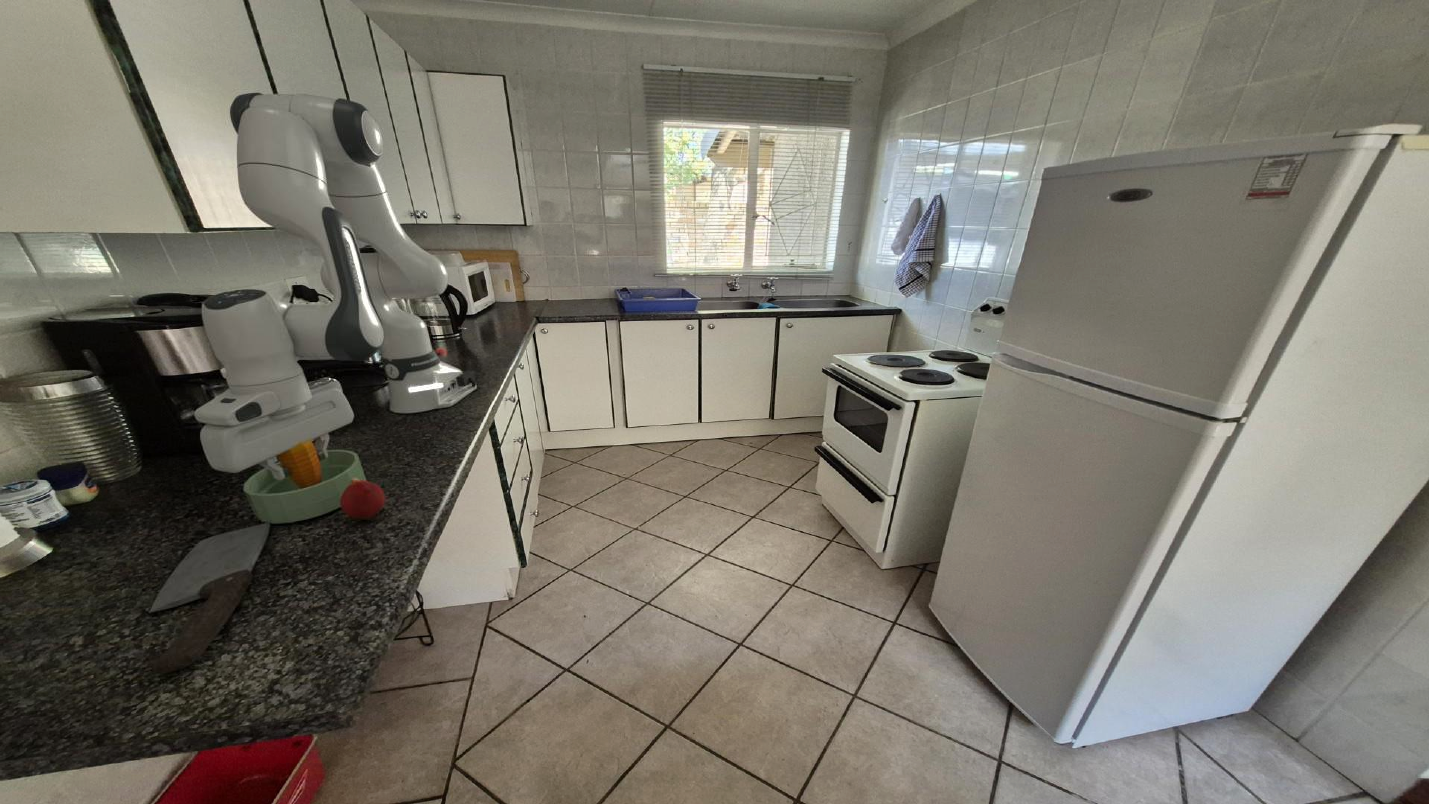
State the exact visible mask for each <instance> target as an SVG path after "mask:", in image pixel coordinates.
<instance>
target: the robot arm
mask: <svg viewBox="0 0 1429 804" xmlns="http://www.w3.org/2000/svg"><path fill="white" fill-rule="evenodd" d="M229 117H230V122H231V124H232V127H233V129H234V131H235V133H236V135H237V140H236V141H237V142H236V168H237V169H236V170H237V182H238V189H239V193H240V196H241V199H242V201H243V203H244V205H245V206H246V207H247V209H248V210H249V211H250V212H251V213H252V214H253V215H254V216H255V217H257V218H258V219H259V220H260V221H262V222H263V223H265V224H267V225H269V226H271V227H272V228H274V229H277V230H279V231H282V232H284V233H287V234H289V235H291V236H295V237H298V238H301V239H303V240H307V241H309V242H311V243H312V244H313V245H315V246H316V248H318V250H319V252H320V253H321V255H322V258H323V262H322V265H321V266H320V272H319V273H320V274H319V275H320V280H321V282H322V285H323V287H324V288H325V289H326V291H328V293H330V294H331V295H332V296H333V299H332V301H331V302H330V303H312V304H311V303H309V304H307V303H306V304H305V303H292V302H287V301H283V300H279V299H276V298H273V297H272V296H271V295H270V294H269V293H268V292H267V291H265V290H262V289H258V288H257V289H255V288H244V289H243V288H242V289H235V290H230V291H222V292H219V293H216V294H214V295H211V296H209V297H207V298H206V299H204V301H203V302H202V303H201V318H202V319H201V320H202V323H203V327H204V331H205V333H206V336H207V339H208V342H209V345H210V347H211V349H212V351H213V354H214V355H215V358H216V359H217V360H218V361H219V362H220V363H221V365H222V366H223V368H224V367H225V370H226V378H225V379H226V380H225V381H226V383H227V386H228V389H226V390H225V391H223V392H222V393H220V394H219V395H218V396H216V397H214V398H213V399H211V400H210V401H208V402H206V403H205V404H203V405H201V406H200V407H198V408H196V410H195V411H194V412H193V413H194V414H193V416H194V418H195V419H196V421H197V422H199V423H201V424H204V426H203V427H202V428H201V429H200V433H199V436H200V437H199V438H200V443H201V446H202V449H203V452H204V455H205V457H206V460H207V462H208V464H209V466H210V467H211V468H212V469H214V470H216V471H219V472H224V473H228V474H229V473H230V474H237V473H240V472H243V471H245V470H247V469H249V468H252V467H253V466H257V465H260V466H261V467H263V468H267V469H269V470H271V472H272V474H273V477H274V478H275V479H278V480H282V479H285V478H286V477H288V476H290V475H291V472H289V471H290V469H289V467H287V466H284V467H283V466H278V465H276V464H275V463H278V462H279V459H278V457H277V455H279V454H281V453H283V452H286V451H288V450H290V449H292V448H294V447H295V446H296V445H298V444H299V443H302V442H306V441H311V440H314V441H315V443H314V447H315V450H316V452H317V455H318V458H319V461H321V460H323V459H325V458H327V457H328V453H327V450H328V446H329V442H330V435H329V433H331V432H333V431H336V430H338V429H340V428H342V427H345V426H347V425H349V424H351V423H353V420H354V418H355V414H354V411H353V409H352V407H351V405H350V403H349V401H348V399H347V397H346V396H345V394H344V393H343V388H342V385H341V383H340V381H339V380H337V379H335V378H331V377H328V376H326V377H322V378H319V379H317V380H313V381H309V382H308V381H307V378H306V376H305V372H304V370H303V368H302V366H301V365H300V364H299V363H298V361H300V360H301V361H303V360H304V361H332V360H335V361H336V360H337V361H345V362H346V361H347V362H365V361H368V360H369V359H371V358H373V356H374V355H376V354H377V353H378V352H379V351H380V354H381V356H380V361H381V364H382V369H383V371H384V373H385V375H386V377H387V386H388V393H389V394H388V395H389V410H390V411H391V412H393V413H397V414H415V413H423V412H428V411H432V410H436V409H443V408H444V409H445V408H449V407H452V406H454V405H455V404H457V403H458V402H460V401H461V400H462V399H463V398H465V397H466V396H468V395H469V394H471V393H472V392H473V391H475V390H476V389H477V388H478V386H477V384H476V382H475V381H476V377H475V371H474V370H465V371H462V370H461V369H460V368H457V367H456V366H453V365H451V364H448V363H446V362H444V361H442V360H441V358H440V356H441V357H446V356H447V350H446V349H445V348H436V349H434V348H433V346H432V343H431V339H430V334H429V330H428V325H427V323H426V322H425V321H424V320H423V319H422V318H421V317H420V316H418V315H415V314H414V313H410V312H407V311H405V310H402V309H401V308H400V307H399V306H398V305H397V304H396V303H395V300H417V299H426V298H431V297H436V296H439V295H442V294H443V293H444V292H445V291H446V289H447V288H448V285H449V274H448V271H447V268H446V266H445V264H443V263H444V262H442V261H441V260H440V259H439V258H438V257H436V256H435V255H434V254H431V253H429V252H427V251H426V250H424V248H422V247H420V246H419V245H418V244H417V243H415V242H414V241H413V240H412V239H411V237H410V236H408V235H407V233H406V231H405V230H404V228H402V227H403V226H401V224H400V222H399V220H398V216H397V215H396V212H395V210H394V208H393V204H392V202H391V199H390V196H389V193H388V190H387V186H386V184H385V181H384V178H383V176H382V173H381V171H380V169H379V166H378V164H377V163H376V162H377V161H378V160H379V159H380V157H381V156H382V153H383V151H384V141H383V135H382V132H381V129H380V126H379V123H378V121H377V119H376V118H375V116H374V115H373V114H372V113H371V112H370V110H369V109H367V108H366V107H365V106H364V105H363V104H361V103H359V102H357V101H353V100H351V99H350V100H349V99H346V98H341V97H338V98H332V97H327V96H321V95H314V94H307V93H295V94H291V93H266V94H264V93H262V92H248V93H242V94H239V95H237V96H235V98H234V99H233V101H232V103H231V105H230V107H229ZM358 241H360V242H362V243H364V244H367V245H368V246H370V247H371V248H372V249H374V250H375V251H376V252H368V253H367V252H366V253H365V252H363V253H361V250H360V248H359V244H358Z"/></svg>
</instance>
